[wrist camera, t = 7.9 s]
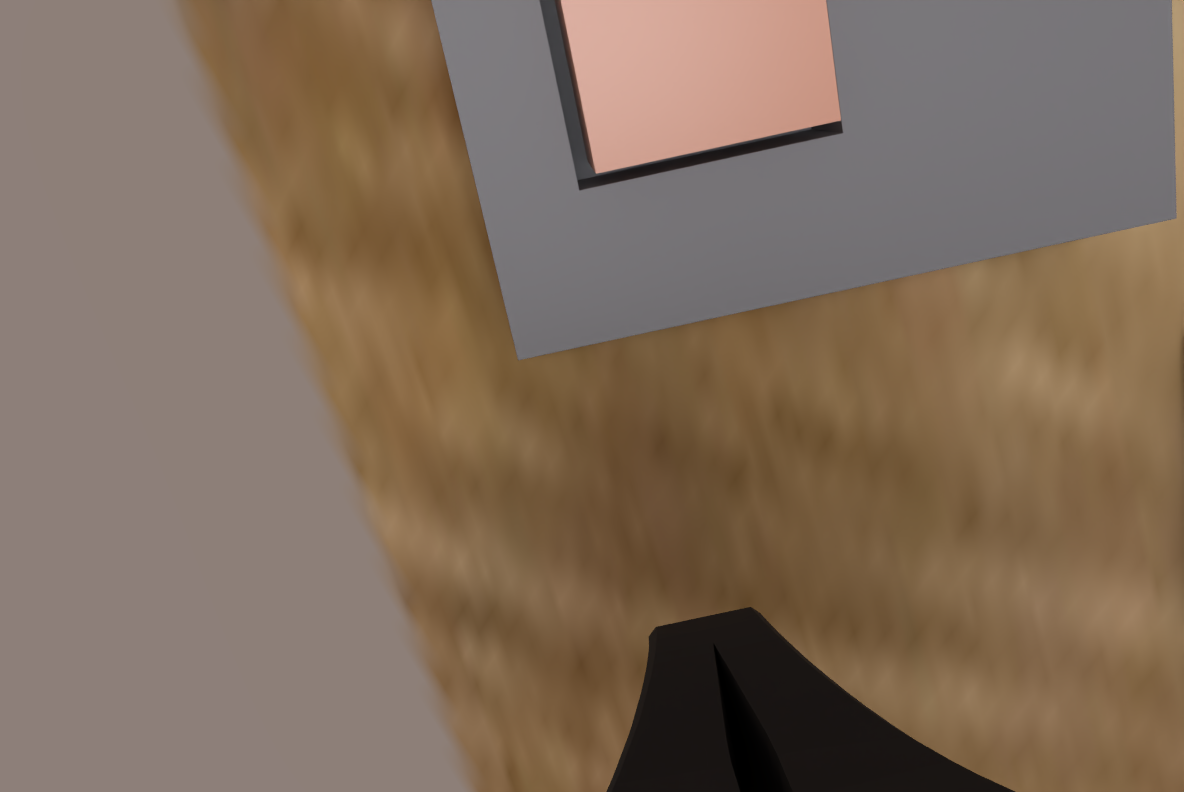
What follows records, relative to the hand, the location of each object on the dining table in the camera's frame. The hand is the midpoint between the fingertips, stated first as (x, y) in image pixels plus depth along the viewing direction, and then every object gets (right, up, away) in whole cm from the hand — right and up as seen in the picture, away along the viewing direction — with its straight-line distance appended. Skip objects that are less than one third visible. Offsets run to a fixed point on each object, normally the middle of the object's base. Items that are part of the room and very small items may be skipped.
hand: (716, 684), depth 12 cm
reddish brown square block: (0, +10, +6) cm, 12 cm away
